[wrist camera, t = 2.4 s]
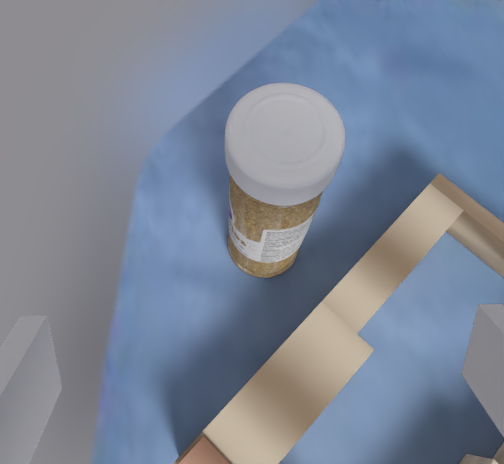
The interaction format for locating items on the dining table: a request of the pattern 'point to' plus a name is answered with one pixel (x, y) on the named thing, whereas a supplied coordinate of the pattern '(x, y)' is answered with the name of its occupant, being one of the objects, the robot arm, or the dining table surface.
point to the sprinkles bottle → (278, 172)
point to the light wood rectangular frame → (342, 334)
